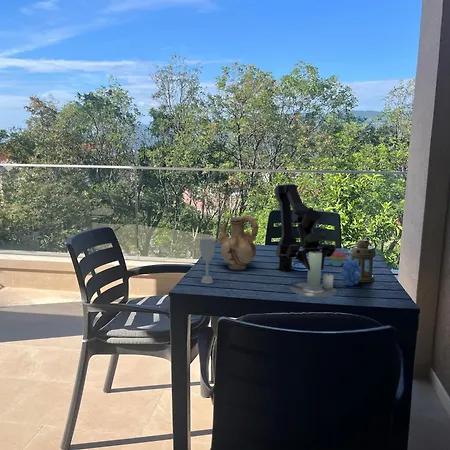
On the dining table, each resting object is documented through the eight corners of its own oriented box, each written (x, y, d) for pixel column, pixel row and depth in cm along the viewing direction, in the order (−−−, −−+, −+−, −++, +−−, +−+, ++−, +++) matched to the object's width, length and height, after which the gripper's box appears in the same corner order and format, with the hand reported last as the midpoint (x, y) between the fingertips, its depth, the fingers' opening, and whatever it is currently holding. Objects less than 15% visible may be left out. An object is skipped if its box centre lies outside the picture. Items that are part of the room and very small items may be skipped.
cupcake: (326, 266, 218) (327, 241, 216) (328, 262, 226) (330, 238, 224) (344, 268, 215) (346, 243, 213) (346, 264, 223) (348, 240, 221)
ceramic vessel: (251, 262, 223) (253, 211, 219) (263, 272, 205) (265, 217, 200) (215, 263, 219) (215, 212, 215) (223, 274, 200) (224, 218, 196)
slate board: (304, 282, 190) (304, 279, 190) (344, 292, 179) (345, 288, 179) (281, 293, 176) (281, 289, 176) (323, 303, 165) (323, 300, 165)
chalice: (218, 280, 191) (218, 238, 188) (212, 284, 185) (213, 241, 182) (201, 278, 194) (202, 236, 191) (195, 282, 187) (196, 239, 184)
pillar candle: (307, 282, 180) (309, 248, 178) (320, 284, 179) (322, 249, 177) (306, 286, 176) (308, 251, 173) (319, 287, 174) (321, 252, 172)
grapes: (350, 292, 178) (352, 262, 176) (336, 288, 184) (338, 259, 182) (368, 287, 186) (370, 259, 183) (354, 283, 191) (356, 255, 189)
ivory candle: (325, 285, 183) (326, 271, 182) (334, 287, 181) (335, 273, 180) (320, 287, 180) (321, 273, 179) (329, 289, 178) (330, 275, 177)
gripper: (290, 224, 175) (298, 259, 167) (335, 224, 179) (346, 258, 170) (282, 240, 184) (290, 274, 176) (326, 239, 188) (335, 272, 179)
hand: (315, 269), depth 175 cm, fingers closed on pillar candle, 5 cm apart
